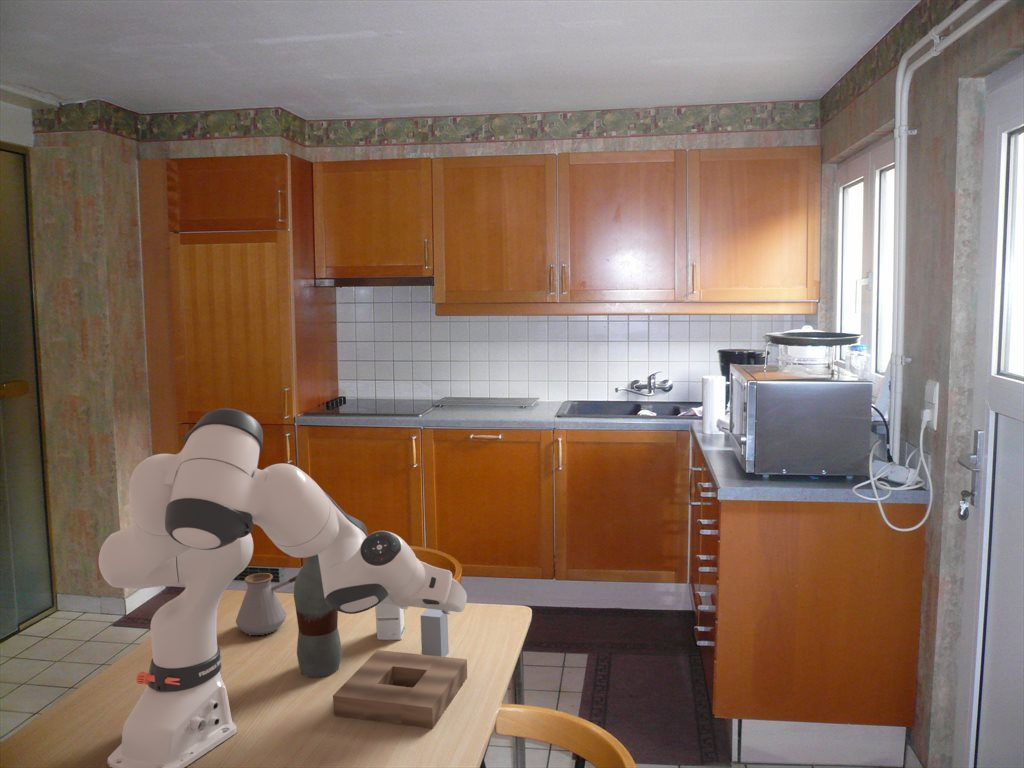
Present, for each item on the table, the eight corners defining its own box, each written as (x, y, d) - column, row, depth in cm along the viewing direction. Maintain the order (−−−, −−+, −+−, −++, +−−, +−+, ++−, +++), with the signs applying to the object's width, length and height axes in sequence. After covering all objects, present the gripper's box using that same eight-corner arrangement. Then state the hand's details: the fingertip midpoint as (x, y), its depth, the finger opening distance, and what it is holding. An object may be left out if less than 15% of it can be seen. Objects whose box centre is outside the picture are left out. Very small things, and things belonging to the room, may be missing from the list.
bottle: (288, 673, 173) (280, 535, 170) (316, 655, 182) (309, 523, 178) (324, 682, 169) (317, 540, 166) (351, 663, 178) (344, 528, 174)
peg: (441, 661, 177) (440, 617, 176) (422, 659, 179) (420, 615, 177) (448, 652, 182) (447, 609, 181) (429, 650, 183) (428, 607, 182)
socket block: (433, 728, 151) (432, 707, 150) (333, 715, 156) (332, 695, 156) (467, 677, 170) (466, 659, 169) (378, 667, 175) (377, 649, 175)
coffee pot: (231, 641, 190) (227, 578, 188) (242, 621, 202) (239, 561, 200) (324, 635, 192) (321, 573, 190) (331, 616, 203) (328, 557, 201)
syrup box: (401, 640, 189) (399, 579, 187) (376, 640, 189) (373, 579, 187) (405, 629, 194) (403, 570, 193) (380, 630, 194) (378, 570, 193)
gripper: (352, 591, 161) (376, 617, 172) (451, 603, 156) (469, 628, 166) (362, 561, 165) (384, 588, 176) (458, 571, 159) (475, 598, 170)
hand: (426, 608), depth 171 cm, fingers open, 8 cm apart
